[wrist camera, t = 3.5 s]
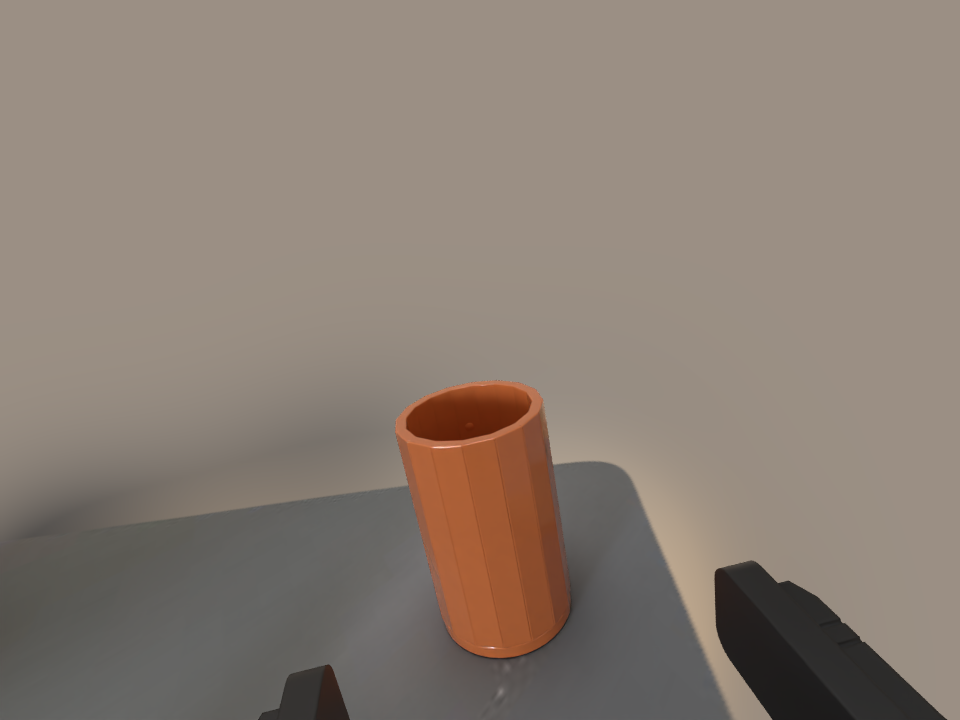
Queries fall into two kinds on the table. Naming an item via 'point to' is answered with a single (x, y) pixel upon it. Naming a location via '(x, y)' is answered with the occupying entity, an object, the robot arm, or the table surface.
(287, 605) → the table surface
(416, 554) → the table surface
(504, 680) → the table surface
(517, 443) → the mug
